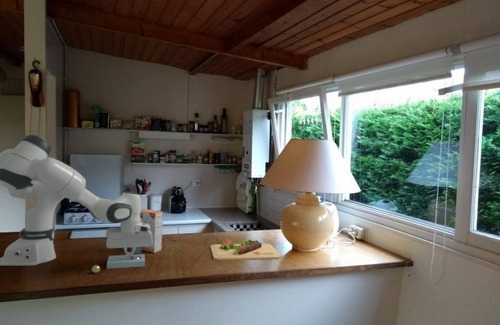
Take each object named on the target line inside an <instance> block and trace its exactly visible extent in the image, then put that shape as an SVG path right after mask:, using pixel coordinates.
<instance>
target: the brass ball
mask: <svg viewBox="0 0 500 325" xmlns="http://www.w3.org/2000/svg"><path fill="white" fill-rule="evenodd" d="M91 271H92V273H94V274H96V273H99V272H100V271H101V267H100V265H97V264H95V265H94V266H92V268H91Z"/></svg>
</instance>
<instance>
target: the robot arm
mask: <svg viewBox="0 0 500 325" xmlns="http://www.w3.org/2000/svg"><path fill="white" fill-rule="evenodd" d="M51 152H52V146H51V144H50V143H49V142H48V141H47V140H46V139H45V138H43V137H41V136H38V135H36V134H28V135H27V136H25V137H23V138H22V139H21V140H20V142H19V143H18V144H17V145H16V146H15V147H14V148H9V149H4V150H3V151H2V152H0V185H1V186H2V187H4V188H7V191H8V193H9V194H10V196H11V197H13V198H17V199H20V200H21V199H23V200H38V203H37V205H36V206H34V207H32V208H29V209H28V210H27V211H26V212H25V215H24V228H23V227H22V229H21V230H20V231H19V233H18V236H19V238H18V239H17V240H15V241H13V242H12V243H11V244H9V245H7V247H6V248H5V251H4V254H3V256H2V257H0V266H31V267H32V266H37V265H39V264H43V263H47V262H51V261H53V260H55V259H56V258H57V255H56V251H55V247H54V246H55V245H54V239H55V228H54V216H55V215H54V214H55V211H56V210H55V209H56V208H57V206H58V204H60V202H61V201H63V200H64V199H65V198H66V199H69V200H74V201H75V202H77V203H79V204H80V205H81V206H83V207H85V208H86V209H87V210H88V211H89V214H90V215H91V216H92V217H93V218H94V219H96V220H99V221H104V222H107V223H111V224H118V223H120V226H117V227H109V228H107V229H106V231H105V237H107V238H106V243H105V244H106V246H105V247H106V248H107V249H123V250H124V253H125V255H126V257H133V255H134V254H133V253H134V251H135V250H136V247H149V246H152V245H153V239H152V233H151V231H150V225H149V224H146V223H142V222H141V218H140V213H141V209H142V199H141V195H140V194H139V193H137V192H131V191H124V192H122V194H121V195H120V196H118V197H117V198H115V199H109V198H107V197H102V196H101V197H100V196H96V195H95V194H93V192H92V191H89V190H88V189H87V188H86V187H87V186H86V185H87V180H86V178H85V177H84V176H83V175H81V174H80V172H79V171H77V170H75V169H74V168H73V167H72V166H70V165H68V164H66V163H64V162H63V161H61V160H58V159H56V158H53V157H49V156H50V153H51ZM131 247H133V248H132V249H133V250H132V252H130V251H128V248H131Z"/></svg>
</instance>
